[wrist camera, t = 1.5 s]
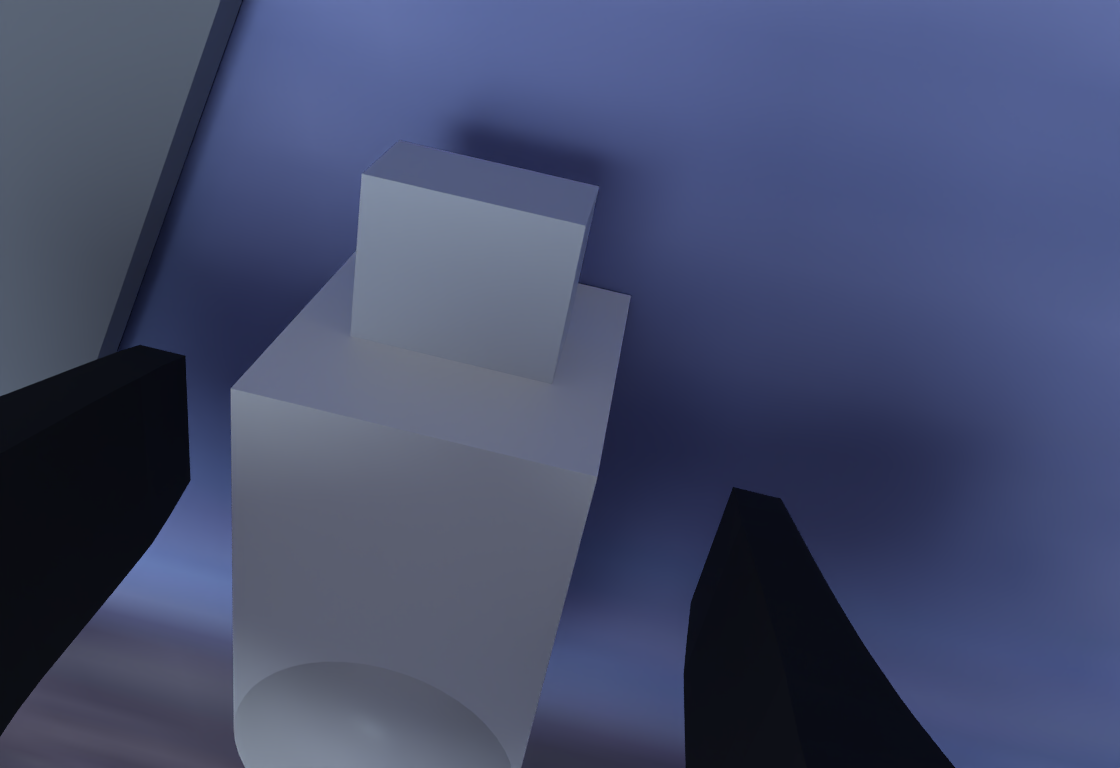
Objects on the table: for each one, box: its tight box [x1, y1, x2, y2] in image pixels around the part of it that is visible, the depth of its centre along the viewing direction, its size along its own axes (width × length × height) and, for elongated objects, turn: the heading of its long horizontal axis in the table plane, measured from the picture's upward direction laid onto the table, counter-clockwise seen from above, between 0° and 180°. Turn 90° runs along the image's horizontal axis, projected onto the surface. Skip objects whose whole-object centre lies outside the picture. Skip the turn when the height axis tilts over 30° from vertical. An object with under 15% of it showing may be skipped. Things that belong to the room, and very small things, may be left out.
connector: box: [231, 140, 631, 768], centre depth 11 cm, size 8×4×4 cm, turn 170°
